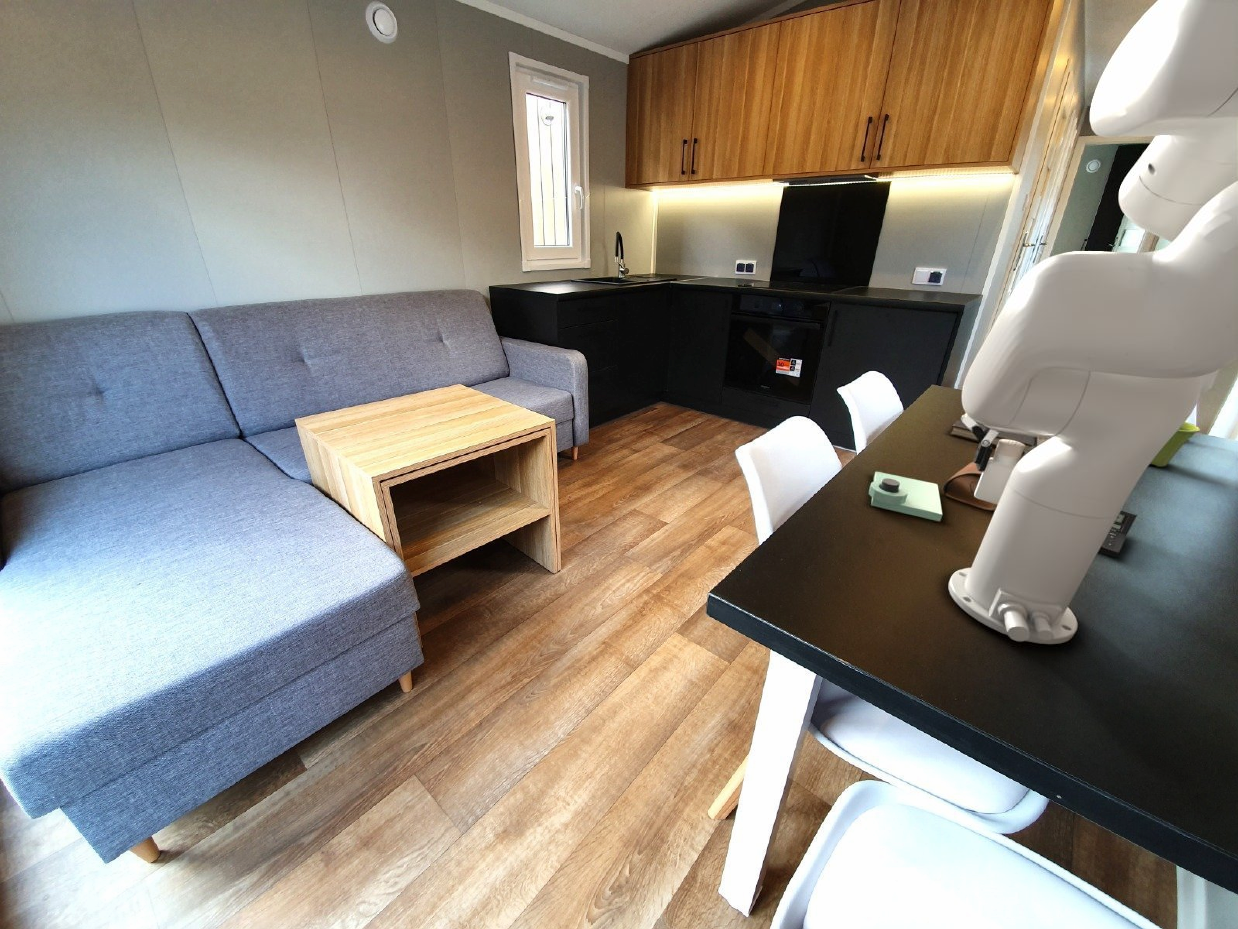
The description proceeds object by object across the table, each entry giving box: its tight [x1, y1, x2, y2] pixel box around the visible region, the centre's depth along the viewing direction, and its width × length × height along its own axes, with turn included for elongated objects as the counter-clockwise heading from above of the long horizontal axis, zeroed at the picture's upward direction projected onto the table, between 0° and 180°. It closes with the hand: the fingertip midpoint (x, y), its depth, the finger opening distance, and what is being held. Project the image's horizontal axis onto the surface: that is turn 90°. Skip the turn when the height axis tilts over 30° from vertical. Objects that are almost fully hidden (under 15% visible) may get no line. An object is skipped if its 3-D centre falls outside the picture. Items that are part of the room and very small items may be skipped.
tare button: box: [880, 478, 900, 493], centre depth 81 cm, size 3×3×2 cm
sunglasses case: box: [942, 456, 997, 512], centre depth 88 cm, size 18×7×7 cm, turn 131°
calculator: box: [1098, 510, 1137, 558], centre depth 76 cm, size 9×12×3 cm
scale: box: [868, 470, 943, 522], centre depth 84 cm, size 13×11×3 cm
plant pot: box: [1149, 421, 1201, 467], centre depth 101 cm, size 9×9×9 cm
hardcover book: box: [949, 418, 1033, 455], centre depth 115 cm, size 16×23×2 cm
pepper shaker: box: [974, 439, 1025, 505], centre depth 75 cm, size 4×4×10 cm
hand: (1000, 471), depth 75 cm, fingers closed on pepper shaker, 4 cm apart
